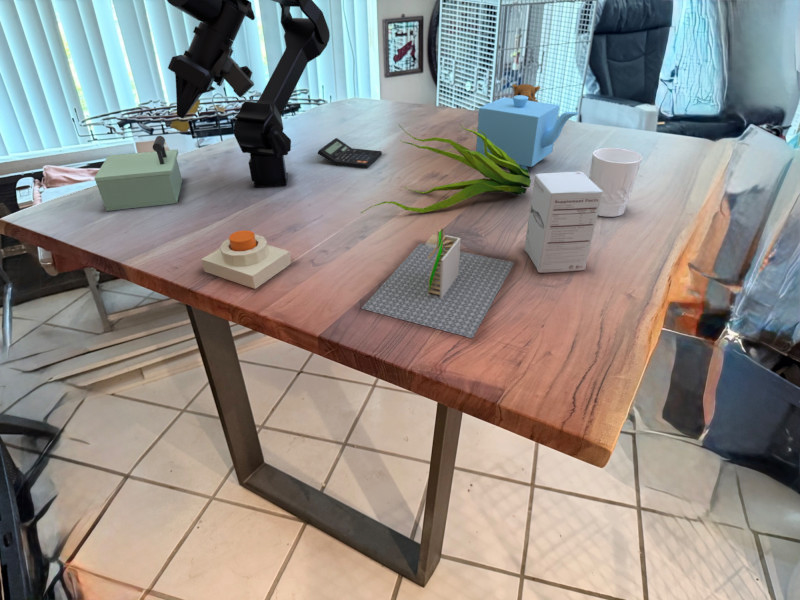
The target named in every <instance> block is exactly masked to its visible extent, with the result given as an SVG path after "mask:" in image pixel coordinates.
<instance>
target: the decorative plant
mask: <svg viewBox="0 0 800 600" xmlns="http://www.w3.org/2000/svg"><path fill="white" fill-rule="evenodd" d="M459 125H460V127H461V128H462V129H463V130H465V131H468V132H470V133H471V134H472V133H473V134H474V135H475V136H476V137H477V136H479V137H480V138H481V139H482V140H483V142H484V154H485V156H487V157H488V158H487V157H485V156H484V155H482V154H481V153H479V152H478V151H476V150H470V149H469V148H467V147H465V146H464V145H462V144H459V143H458V142H456V141H454V140H452V139H450V138H443V137H437V136H436V137H429V138H424V139H422V138H416V137H415V136H413V135H411V134H410V133H408V132H406V131H405V129H404V128H403V127H402V126H401V125H400V124H398V126H399V127H400V128H401V129H402V131H404V133H406V135H408V136H410V137H411V138H412V139H413V140H415V141H419V142H424V143H425V142H435V141H436V142H440V143H446V144H450V146H452V147H453V148H448V150H452V151H457V152H458V153H459V154H457V153H453V152H450V151H446V150H444V149H443V150H442V149H439V148H435V147H431V146H428V145H417V144H415V143H413V142H407V141H403V140H401V139H399V141H400V142H402V143H404V144H408V145H412V146H414V147H415V148H418V149H423V150H427V151H430V152H433V153H436V154H438V155H442V156H445V157H448V158H450V159H452V160H456V161H458V162H459V163H461V164H464V165H465V166H468V167H470V169H473V170H475V171H477V172H478V173H479V174H481V175H482V176H483V177H484V178H476V179H470V180H464V181H458V182H453V183H448V184H444V185H443V184H442V185H439V186H438V185H437V186H435V187H433V188H431V189H429V190H426V191H418V190H413V189H410V188H407V187H405V186H404V189H407V190H409V191H411V192H415V193H419V194H430V193H433V192H437V191H438V192H439V191H441V192H442V191H444V192H445V191H455V190H456V191H457V190H460V191H458V192H456V193H455V194H453V195H451V196H449V197H448V198H445V199H443V200H440V201H438V202H436V203H432V204H430V205H428V206H425V207H413V206H406V205H404V204H401V203H399V202H397V201H386V200H385V201H382V202H379V203H377V204H374V205H371V206H369V207H368V208H366V209H364V210H363V211H361V212H360V214H363V213H364V212H366V211H368V210H369V209H371V208H374V207H377V206H380V205H384V204H391V205H395V206H397V207H399V208H401V209H403V210H404V211H407V212H415V213H422V214H424V213H425V214H426V213H429V212H434V211H439V210H443V209H447V208H449V207H451V206H454V205H456V204H458V203H460V202H463V201H465V200H468V199H470V198H472V197H475V196H478V195H480V194H483V193H504V192H505V193H510V194H514V195H518V196H520V195H521V196H522V194H526V192H527V190H528V188H530V187H531V181H532V180H531V176H530V174H529V173H530V169H527V170H526V169H523V168H521V167H520V166H519V165H518V164H517V163H516V162H515V160H514V159H511V158H510V157H509V156H508V155H507V154H506V153H505V152H504V151H503V150H501V149H500V148H498V147H497V146H495V145H494V144H493V143H492V142H491V141H490V140H489V139H487V137H486V135H485V133H483V132H482V131H481V132H482V133H483V134H484V135H485V136H483V135H482V134H480V133H478V128H475V127H473V129H468V128H465V127H463V125H462V124H461V123H459ZM475 130H476V131H475ZM479 131H480V130H479ZM487 147H488V149H489V150H490V152H491V153H492V154H493V155H492V154H490V153H489V152H488V151H487ZM495 163H496V164H497V165H496V164H495ZM500 166H501V167H500ZM502 167H504V168H506V169H507V170H508V171H506V170H504V169H502Z"/></svg>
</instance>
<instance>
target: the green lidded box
mask: <svg viewBox="0 0 800 600" xmlns="http://www.w3.org/2000/svg"><path fill="white" fill-rule="evenodd" d="M182 182H183V177H182V173H181V170H180V166H179V162H178V158H177V159H176V163H175V166H174V170H173V173H172V174H166V175H156V176H146V177H136V178H126V179H116V180H106V181H95V184H96V187H97V189H98V192H99V195H100V197H101V201H102V204H103V205H104V208H105V211H106V212H110V211H119V210H120V211H121V210H129V209H138V208H146V207H155V206H165V205H166V206H167V205H173V204H174V205H175V204H178V200H179V197H180V196H179V195H180V192H181V188H182Z"/></svg>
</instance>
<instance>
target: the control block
mask: <svg viewBox="0 0 800 600" xmlns="http://www.w3.org/2000/svg"><path fill="white" fill-rule="evenodd" d="M254 235H255V240H256V247H255V248H253V249H251V250H247V251H233V250H232V249H231V245H230V241H229V238H227V239H226V240H224V241H223V242H222V243H221V245H219V248H217V249H216V250H215V251H213V252H211V253H209V254H208V255H206V256H204V257H202V258H201V264H202V268H203V272H205V273H207V274H210V275H213V276H216V277H218V278H221V279H224V280H228V281H231V282H234V283H236V284H240V285H242V286H245V287H248V288H251V289H254V290H256V289H258V288H259V287H260V286H262V285H263V284H264V283H266V282H268V281H269V280H271V279H272V278H273V277H274V276H276V275H278V274H279V273H280V272H282V271H283V270H285V269H286V268H288V267H289V266H290V265H292V260H291V253H290V250H287V249H283V248H281V247H280V248H279V247H276V246H272V245H269V244H268V241H267V240H266V238H265V237H264V236H262V235H258V234H255V233H254Z"/></svg>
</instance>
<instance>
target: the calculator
mask: <svg viewBox="0 0 800 600" xmlns="http://www.w3.org/2000/svg"><path fill="white" fill-rule="evenodd" d="M382 153H383V152H382V150H374V149H364V148H363V149H362V148H353V147H351V146H349V145H348V144H347V143H346V142H344V141H342V140H340V139H339V138H338V137H335V138H334V139H332V140H331V141H330V142H328V143H327V144H326V145H324V146H323V147H321V148H319V150H318V151H317V155H318V156H321V157H322V158H323V159H325V160H327V162H328V161H329V162H330V163H332V164H333V165H335V166H340V167H349V168H350V167H351V168H359V169H368V168H370V166H372V164H374V163H375V162H376V161H377V160H378V159H379V158H381V156H382V155H383V154H382Z"/></svg>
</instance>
